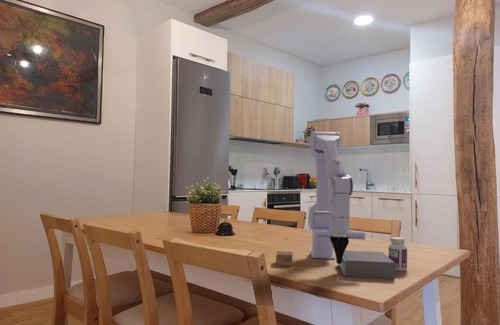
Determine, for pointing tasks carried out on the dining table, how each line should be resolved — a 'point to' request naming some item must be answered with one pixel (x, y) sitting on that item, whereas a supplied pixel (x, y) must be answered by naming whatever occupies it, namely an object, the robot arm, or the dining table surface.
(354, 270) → the block
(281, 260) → the pedestal
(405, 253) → the pill bottle
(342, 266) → the grey shallow open box
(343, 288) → the dining table surface
